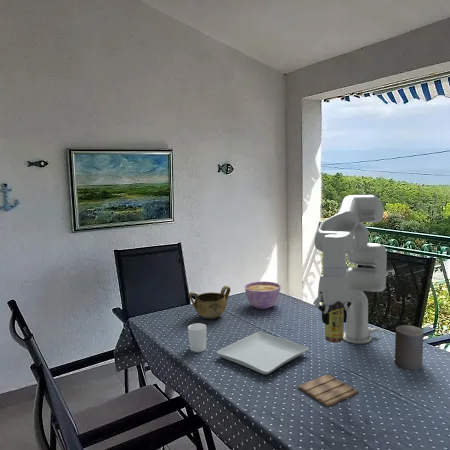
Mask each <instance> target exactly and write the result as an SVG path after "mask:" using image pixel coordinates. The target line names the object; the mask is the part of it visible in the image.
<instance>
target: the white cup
mask: <svg viewBox="0 0 450 450" xmlns="http://www.w3.org/2000/svg"><path fill="white" fill-rule="evenodd" d="M187 330H188V331H187V332H188V333H187V334H188V341H189V349H190V351H191V352H193V351H194V352H193V353H200V352H204V351H206V349H207V325H206V324H204V323H201V322H200V323H198V322H197V323H191V324H190V325H188V326H187Z"/></svg>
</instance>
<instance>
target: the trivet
mask: <svg viewBox="0 0 450 450" xmlns="http://www.w3.org/2000/svg"><path fill="white" fill-rule="evenodd" d="M297 389H298V390H300V391H302V392H304V393H305V394H307V395H308V396H310V397H312V398H313V399H314V398H315V399H314V400H316V401H317V400H318V401H317V402H319V403H321V404H322V405H324V406H325V405H326V407H330V406H332V405H335V404H337V403H339V402H341V401H344V400H346V399H348V398H351V397H353V396H355V395H357V394H359V390H357V389H355V388H354V387H353V386H351V385H350V384H346V383H345V382H344V381H342V380H340V379H339V380H338V379H337V378H336V377H335V376H333V375H329V374H325V375H321V376H320V377H318V378H315V379H312V380H310V381H307V382H304V383H302V384H299V385H298V386H297Z"/></svg>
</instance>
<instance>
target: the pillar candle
mask: <svg viewBox="0 0 450 450" xmlns="http://www.w3.org/2000/svg"><path fill="white" fill-rule="evenodd" d="M424 332H425V331H424V330H423V329H422V328H421V327H417V326H415V325H408V324H406V325H405V324H403V325H398V326H396V328H395V336H394V337H395V338H394V339H395V342H394V343H395V344H394V347H395V349H394V351H395V352H394V364H395V366H397V367H398V368H401V369H403V370H407V371H419V370H422V368H423V355H424Z"/></svg>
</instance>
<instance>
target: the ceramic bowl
mask: <svg viewBox="0 0 450 450" xmlns="http://www.w3.org/2000/svg"><path fill="white" fill-rule="evenodd" d="M230 294H231V287H230V286H228V285H224V286H223V287H222V288H221V290H220V292H212V291H211V292H203V293H199V294H196V293H195V292H193V291H190V292H189V293H188V298H189V300H190V302H191V304H192V306H193V307H194V309H195V311H196V313H197V314H198V315H199V316H200V317H202V318H204V319H207V320H208V319H209V320H214V319H216V318H219V317H220V316H222V315H223V314H224V312H225V311H226V308H227V301H228V298H229V295H230ZM193 295H194V299H193V297H192V296H193Z"/></svg>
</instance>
